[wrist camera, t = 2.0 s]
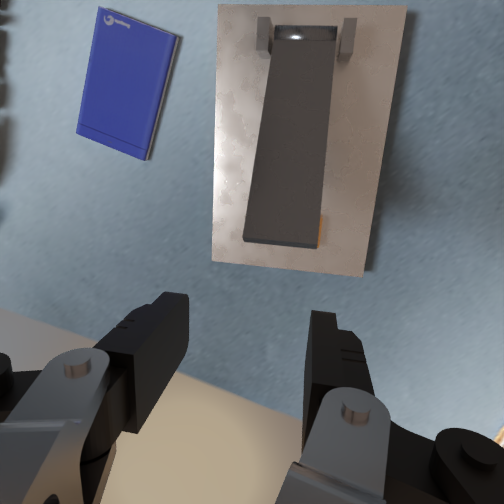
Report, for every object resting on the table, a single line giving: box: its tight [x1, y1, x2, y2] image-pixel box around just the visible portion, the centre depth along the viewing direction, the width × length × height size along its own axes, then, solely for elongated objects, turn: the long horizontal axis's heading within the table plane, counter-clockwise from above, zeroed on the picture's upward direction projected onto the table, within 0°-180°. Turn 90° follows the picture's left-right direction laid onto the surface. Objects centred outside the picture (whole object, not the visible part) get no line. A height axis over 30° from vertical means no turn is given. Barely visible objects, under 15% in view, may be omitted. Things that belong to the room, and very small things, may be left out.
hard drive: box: [76, 6, 179, 161], centre depth 36 cm, size 2×8×12 cm
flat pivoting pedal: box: [242, 25, 338, 249], centre depth 26 cm, size 19×5×2 cm
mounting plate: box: [212, 4, 407, 277], centre depth 33 cm, size 24×16×5 cm, turn 177°
